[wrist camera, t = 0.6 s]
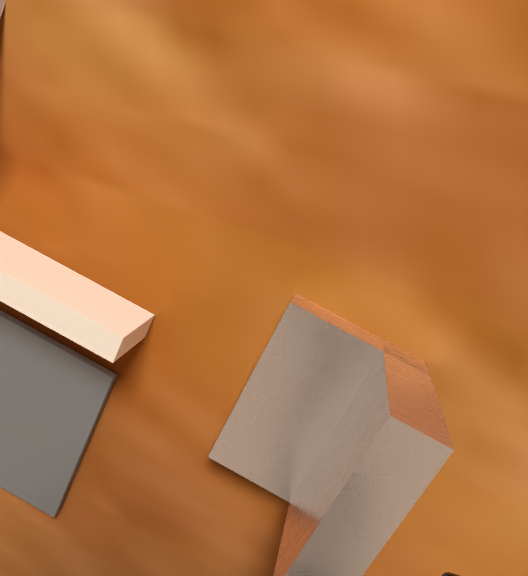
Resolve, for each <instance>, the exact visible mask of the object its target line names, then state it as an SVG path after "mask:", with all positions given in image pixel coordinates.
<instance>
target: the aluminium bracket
mask: <svg viewBox="0 0 528 576" xmlns="http://www.w3.org/2000/svg"><path fill="white" fill-rule="evenodd" d="M453 451H454V449H453V445H452V442H451V439H450V436H449V433H448V430H447V427H446V423H445V420H444V417H443V414H442V411H441V408H440V405H439V401H438V398H437V395H436V392H435V389H434V386H433V383H432V379H431V376H430V373H429V370H428V367H427V364H426V362H425V361H423V360H421V359H419V358H417V357H415V356H413V355H412V354H410V353H408V352H406V351H404V350H402V349H400V348H398V347H396V346H395V345H393V344H391V343H389V342H387V341H385V340H383V339H381V338H379V337H378V336H376V335H374V334H372V333H370V332H368V331H366V330H364V329H362V328H361V327H359V326H357V325H355V324H353V323H351V322H349V321H347V320H345V319H343V318H342V317H340V316H338V315H336V314H334V313H332V312H330V311H328V310H326V309H325V308H323V307H321V306H319V305H317V304H315V303H313V302H311V301H309V300H308V299H306V298H304V297H302V296H300V295H298V294H296V293H295V294H294V296H293V298H292V299H291V301H290V303H289V305H288V307H287V309H286V311H285V313H284V315H283V316H282V318H281V320H280V322H279V324H278V326H277V328H276V330H275V331H274V333H273V335H272V337H271V339H270V341H269V343H268V345H267V347H266V348H265V350H264V352H263V354H262V356H261V358H260V360H259V362H258V363H257V365H256V367H255V369H254V371H253V373H252V375H251V377H250V379H249V380H248V382H247V384H246V386H245V388H244V390H243V392H242V394H241V396H240V397H239V399H238V401H237V403H236V405H235V407H234V409H233V411H232V412H231V414H230V416H229V418H228V420H227V422H226V424H225V426H224V428H223V429H222V431H221V433H220V435H219V437H218V439H217V441H216V443H215V445H214V446H213V448H212V450H211V452H210V454H209V456H208V457H209V458H211V459H212V460H214V461H216V462H218V463H219V464H221V465H223V466H225V467H227V468H228V469H230V470H232V471H234V472H236V473H237V474H239V475H241V476H243V477H245V478H246V479H248V480H250V481H252V482H254V483H255V484H257V485H259V486H261V487H263V488H264V489H266V490H268V491H270V492H271V493H273V494H275V495H277V496H279V497H280V498H282V499H284V500H286V501H288V502H289V506H288V511H287V516H286V520H285V525H284V529H283V534H282V539H281V543H280V548H279V552H278V557H277V562H276V566H275V571H274V575H273V576H362V575H363V574H364V573H365V571H366V570H367V568H368V567H369V566H370V564H371V563H372V562H373V560H374V559H375V558H376V556H377V555H378V553H379V552H380V551H381V549H382V548H383V547H384V545H385V544H386V542H387V541H388V540H389V538H390V537H391V536H392V534H393V533H394V531H395V530H396V529H397V527H398V526H399V525H400V523H401V522H402V521H403V519H404V518H405V516H406V515H407V514H408V512H409V511H410V510H411V508H412V507H413V505H414V504H415V503H416V501H417V500H418V499H419V497H420V496H421V494H422V493H423V492H424V490H425V489H426V488H427V486H428V485H429V484H430V482H431V481H432V479H433V478H434V477H435V475H436V474H437V473H438V471H439V470H440V468H441V467H442V466H443V464H444V463H445V462H446V460H447V459H448V457H449V456H450V455H451V453H452V452H453Z"/></svg>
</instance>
